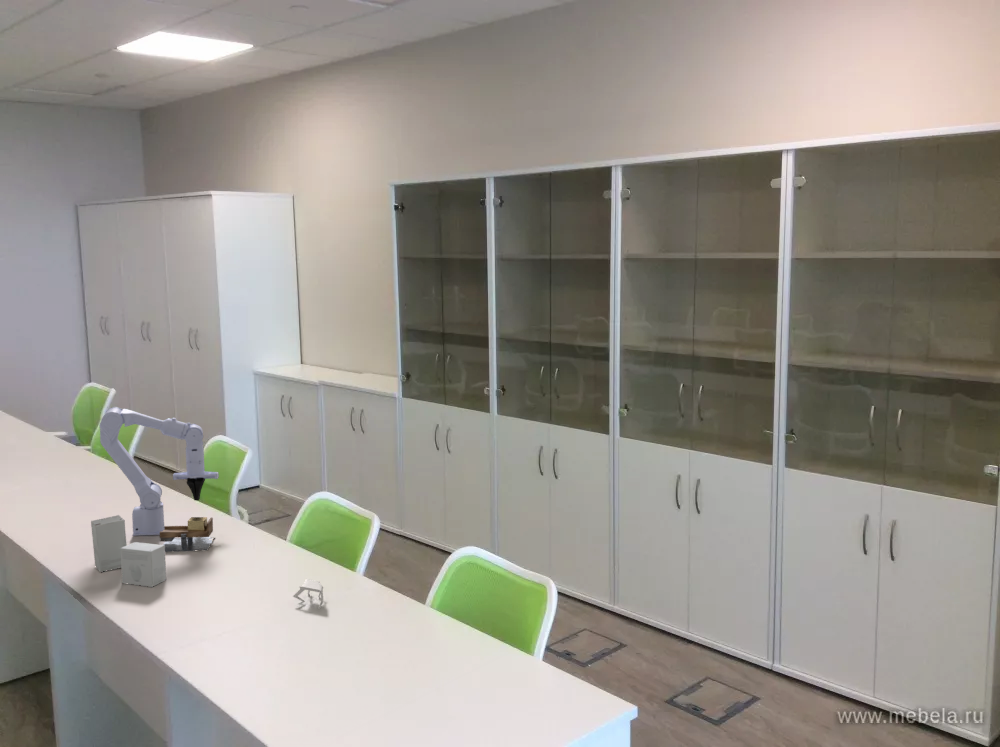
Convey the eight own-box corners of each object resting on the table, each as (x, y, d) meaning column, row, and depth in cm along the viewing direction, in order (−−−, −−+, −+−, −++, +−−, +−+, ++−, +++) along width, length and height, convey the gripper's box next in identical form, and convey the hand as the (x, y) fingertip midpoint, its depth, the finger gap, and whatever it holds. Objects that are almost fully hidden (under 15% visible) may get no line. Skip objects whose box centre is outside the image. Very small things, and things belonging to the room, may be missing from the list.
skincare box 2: (167, 579, 242) (165, 544, 240) (152, 587, 236) (150, 551, 234) (136, 575, 244) (134, 540, 243) (121, 583, 238) (119, 548, 237)
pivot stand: (157, 552, 263) (156, 537, 263) (168, 539, 275) (167, 525, 274) (207, 550, 265) (206, 535, 264) (215, 537, 277) (214, 523, 276)
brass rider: (187, 533, 268) (187, 521, 267) (191, 529, 272) (191, 517, 271) (204, 533, 268) (203, 521, 267) (207, 529, 272) (207, 517, 271)
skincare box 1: (123, 561, 255) (120, 514, 253) (129, 567, 251) (126, 519, 249) (93, 567, 250) (90, 519, 248) (98, 573, 245) (95, 524, 243)
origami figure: (286, 602, 227) (285, 584, 226) (311, 592, 233) (310, 575, 232) (314, 614, 219) (313, 596, 218) (339, 604, 226) (339, 586, 225)
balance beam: (159, 542, 266) (159, 523, 265) (165, 535, 272) (164, 517, 271) (208, 541, 268) (208, 523, 267) (213, 535, 274) (212, 517, 273)
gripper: (169, 463, 279) (171, 503, 281) (214, 463, 280) (216, 502, 282) (175, 458, 285) (177, 497, 287) (219, 457, 287) (220, 496, 289)
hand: (196, 499), depth 285 cm, fingers closed
